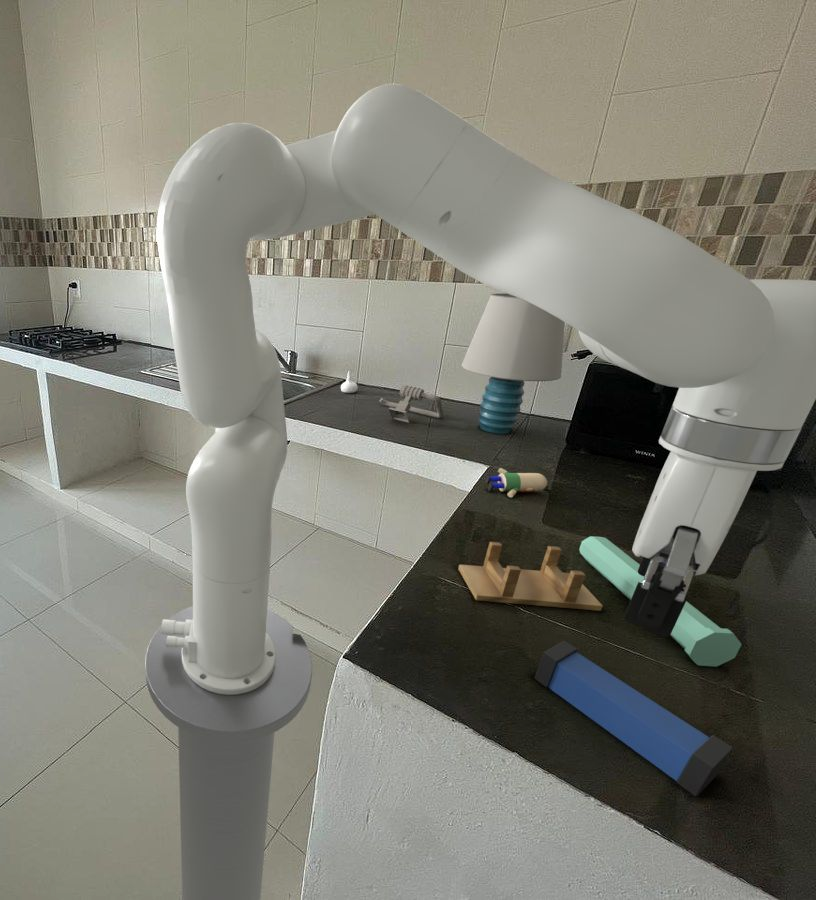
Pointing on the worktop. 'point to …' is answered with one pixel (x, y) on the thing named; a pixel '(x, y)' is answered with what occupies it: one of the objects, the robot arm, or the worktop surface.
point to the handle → (634, 718)
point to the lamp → (513, 356)
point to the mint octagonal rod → (692, 626)
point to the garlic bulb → (349, 385)
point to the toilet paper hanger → (404, 406)
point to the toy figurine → (517, 482)
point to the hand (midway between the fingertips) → (651, 601)
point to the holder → (528, 583)
